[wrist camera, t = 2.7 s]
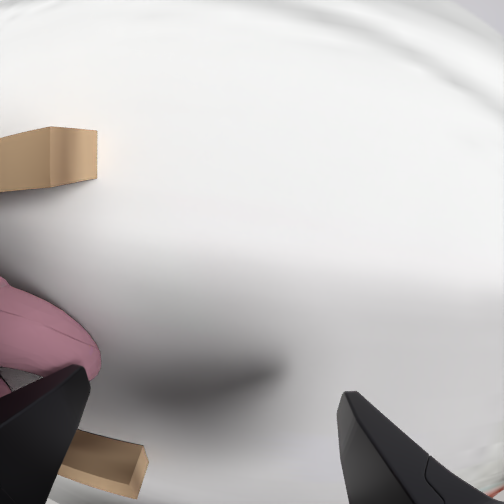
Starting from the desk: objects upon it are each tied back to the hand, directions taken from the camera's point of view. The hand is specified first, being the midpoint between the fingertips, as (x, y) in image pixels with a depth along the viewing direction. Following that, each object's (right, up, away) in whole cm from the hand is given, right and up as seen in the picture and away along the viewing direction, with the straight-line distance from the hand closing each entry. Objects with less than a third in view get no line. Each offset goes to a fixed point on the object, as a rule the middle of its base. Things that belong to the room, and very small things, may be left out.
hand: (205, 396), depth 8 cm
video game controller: (-9, +1, +2) cm, 10 cm away
